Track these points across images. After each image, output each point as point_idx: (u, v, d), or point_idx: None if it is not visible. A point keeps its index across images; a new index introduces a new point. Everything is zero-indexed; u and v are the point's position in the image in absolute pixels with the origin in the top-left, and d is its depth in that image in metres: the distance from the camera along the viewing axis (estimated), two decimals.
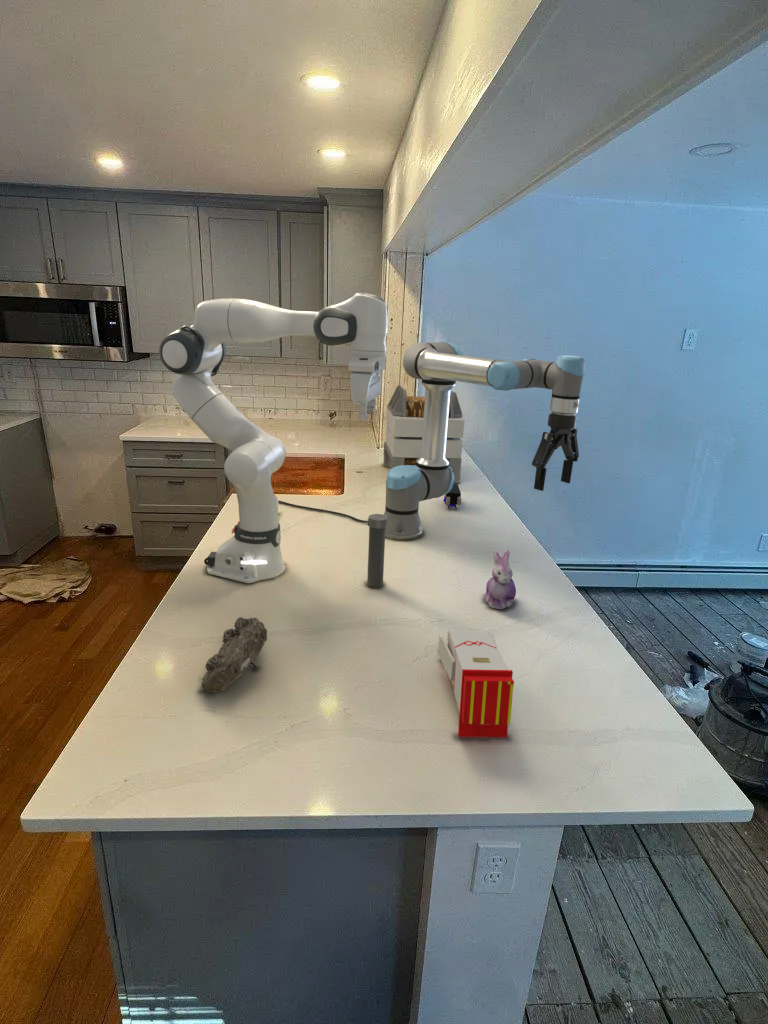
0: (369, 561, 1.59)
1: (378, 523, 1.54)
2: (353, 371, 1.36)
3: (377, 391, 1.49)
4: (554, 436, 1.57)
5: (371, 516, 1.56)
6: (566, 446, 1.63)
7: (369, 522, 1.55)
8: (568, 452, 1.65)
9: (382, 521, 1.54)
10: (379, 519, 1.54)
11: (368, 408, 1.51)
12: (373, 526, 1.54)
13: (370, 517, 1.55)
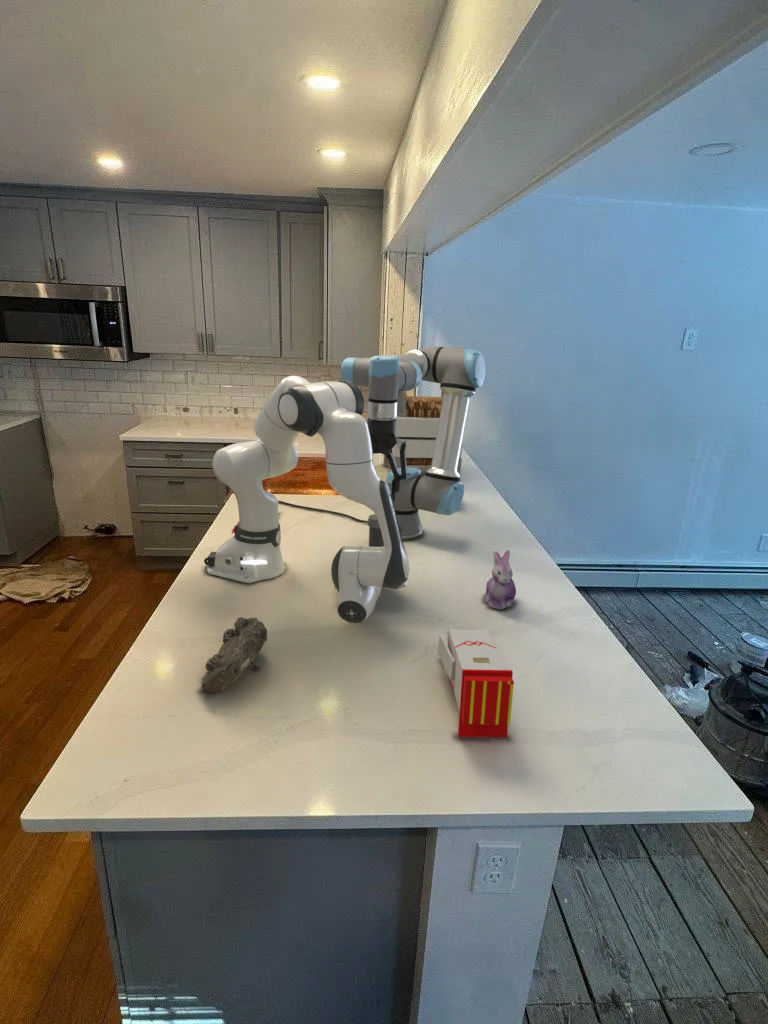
0: None
1: (378, 523, 1.54)
2: None
3: None
4: None
5: (371, 516, 1.56)
6: None
7: (369, 522, 1.55)
8: None
9: None
10: None
11: None
12: (373, 526, 1.54)
13: (370, 517, 1.55)
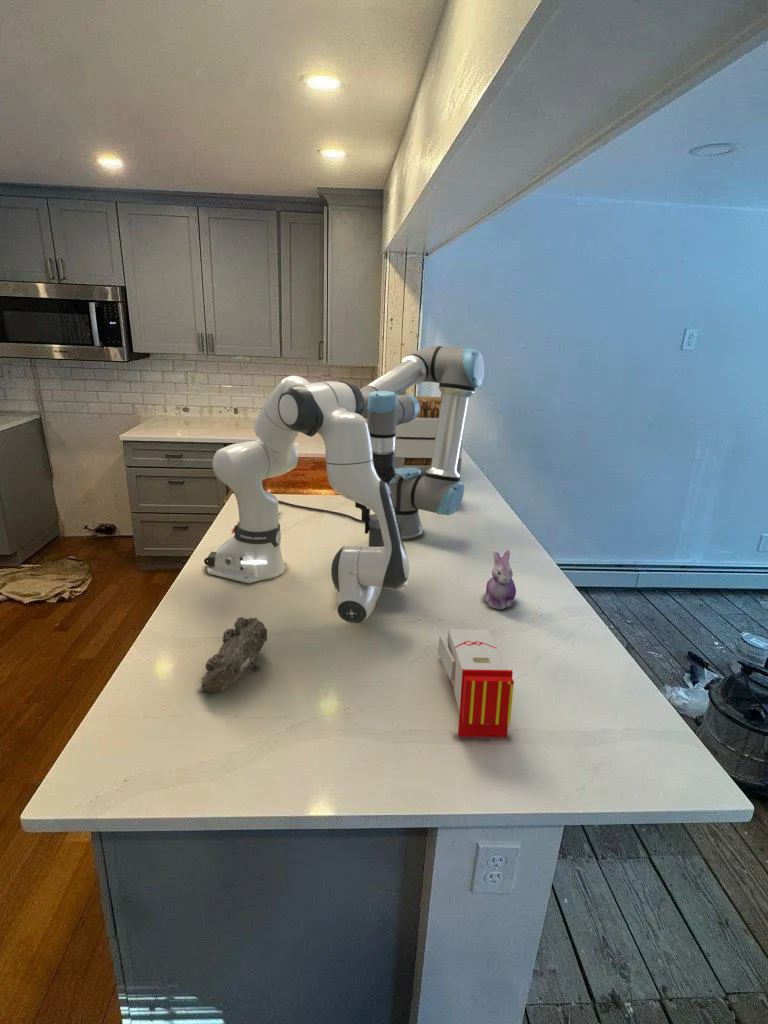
0: None
1: (378, 523, 1.54)
2: None
3: None
4: None
5: (371, 516, 1.56)
6: None
7: (369, 522, 1.55)
8: None
9: None
10: None
11: None
12: (373, 526, 1.54)
13: (370, 517, 1.55)
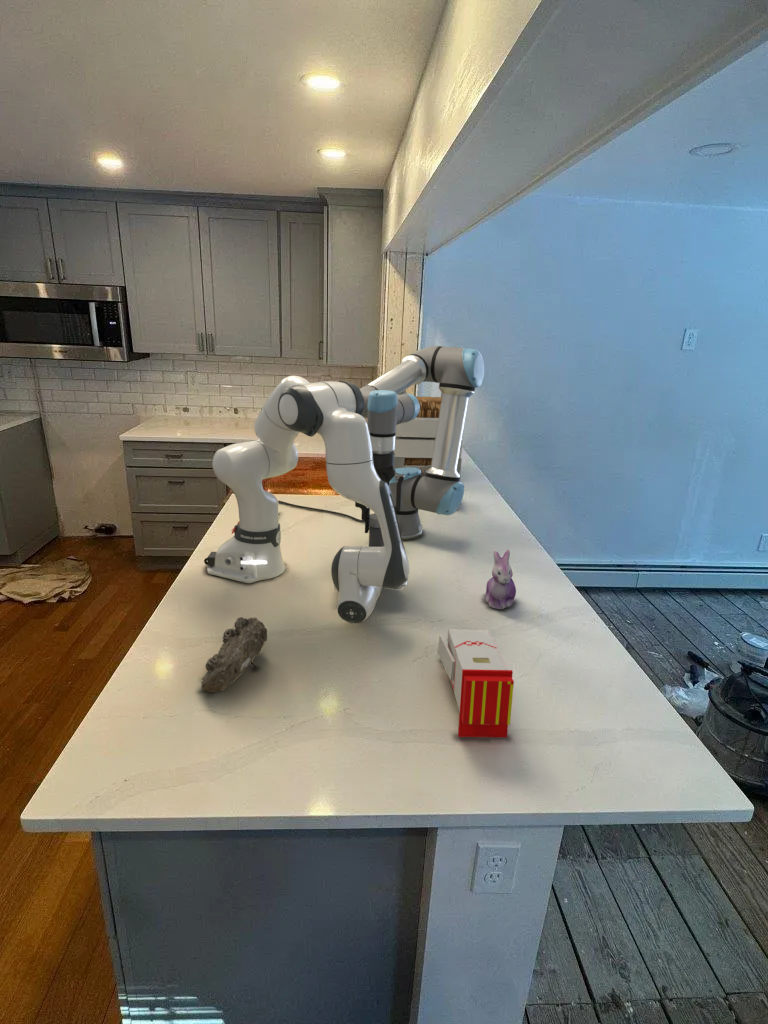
0: None
1: None
2: None
3: None
4: None
5: None
6: None
7: None
8: None
9: None
10: None
11: None
12: None
13: None
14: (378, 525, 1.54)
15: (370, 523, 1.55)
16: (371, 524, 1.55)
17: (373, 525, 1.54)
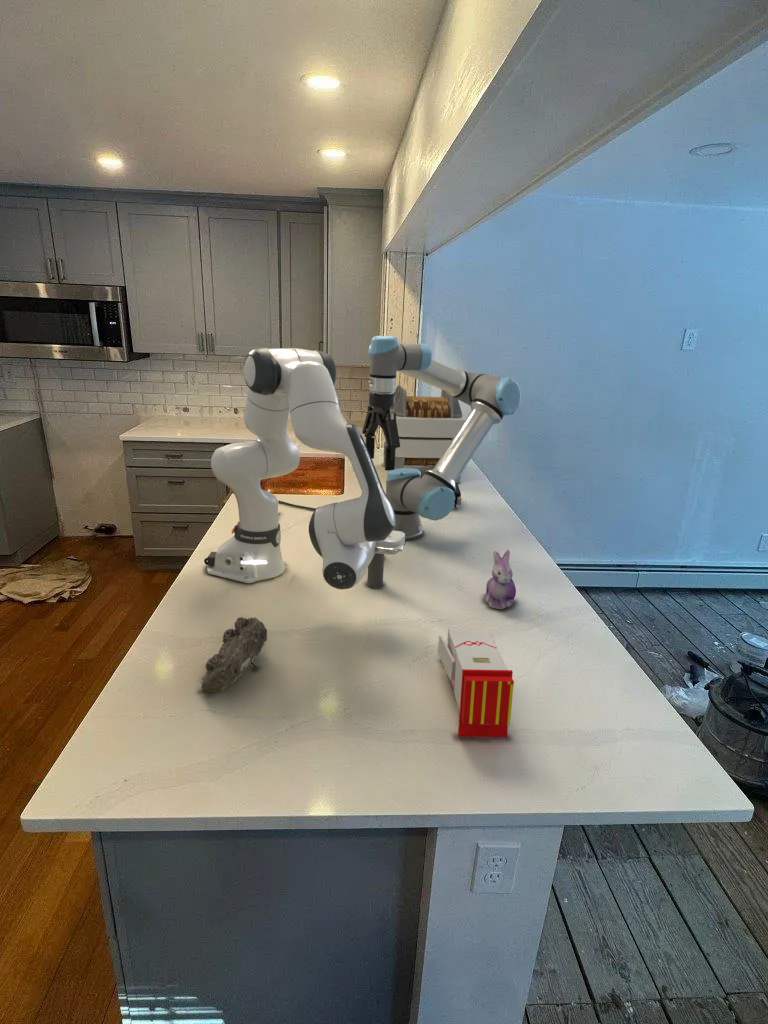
0: None
1: None
2: None
3: None
4: None
5: None
6: None
7: None
8: None
9: None
10: None
11: None
12: None
13: None
14: None
15: None
16: None
17: None
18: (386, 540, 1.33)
